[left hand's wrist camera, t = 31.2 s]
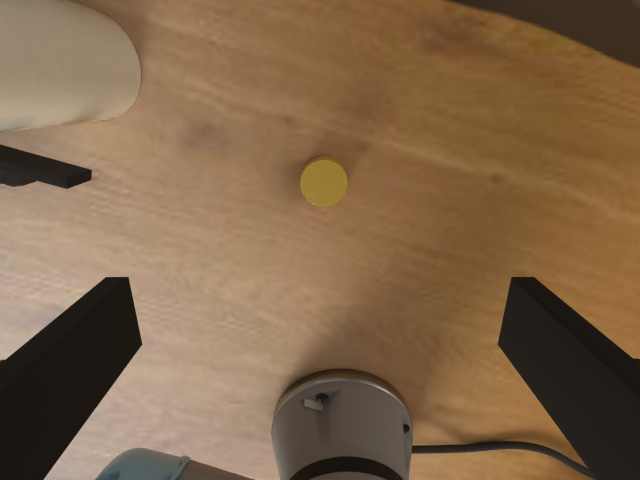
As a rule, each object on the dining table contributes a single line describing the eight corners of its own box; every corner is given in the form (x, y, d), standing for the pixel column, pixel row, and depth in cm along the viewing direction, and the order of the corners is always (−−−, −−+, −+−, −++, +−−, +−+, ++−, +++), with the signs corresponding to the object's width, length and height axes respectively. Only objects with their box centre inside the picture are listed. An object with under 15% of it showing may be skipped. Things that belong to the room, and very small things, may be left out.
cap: (293, 168, 31) (291, 173, 29) (333, 147, 30) (334, 151, 28) (314, 207, 32) (313, 214, 30) (353, 188, 31) (355, 194, 30)
